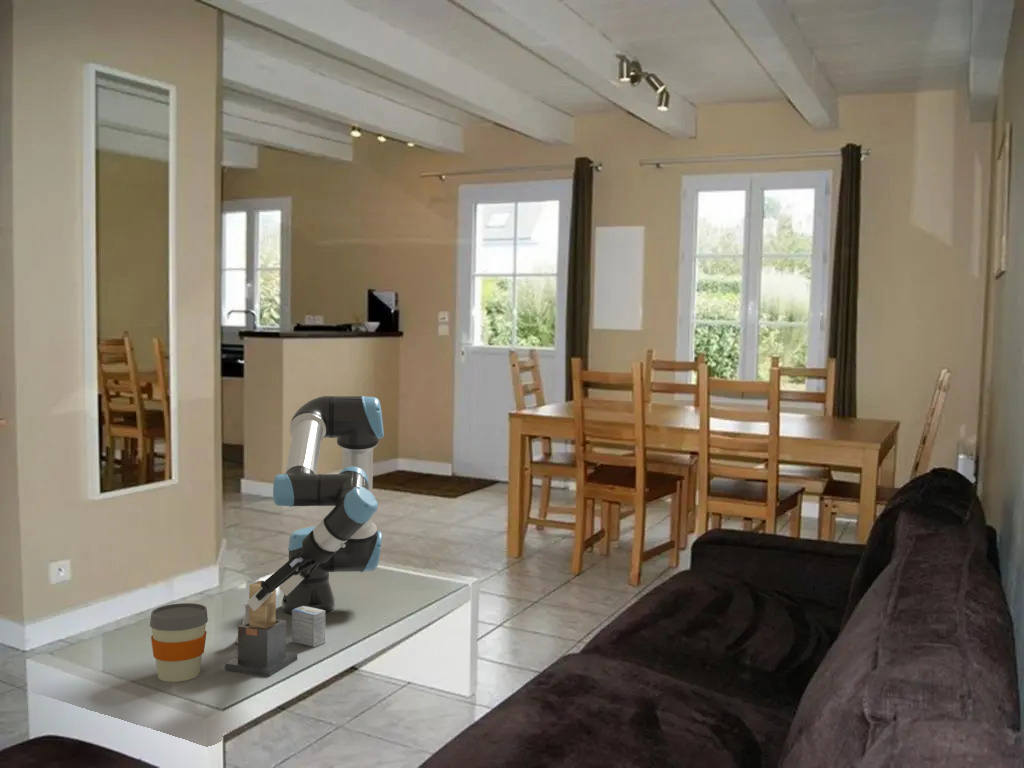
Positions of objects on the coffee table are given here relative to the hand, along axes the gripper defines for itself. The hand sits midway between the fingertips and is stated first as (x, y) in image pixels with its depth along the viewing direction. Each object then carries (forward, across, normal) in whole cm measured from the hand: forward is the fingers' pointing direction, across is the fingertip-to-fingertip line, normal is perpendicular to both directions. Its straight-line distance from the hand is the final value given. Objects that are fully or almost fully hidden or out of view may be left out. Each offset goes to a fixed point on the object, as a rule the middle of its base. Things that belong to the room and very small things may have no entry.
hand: (267, 598), depth 210 cm
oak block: (+12, +1, -9) cm, 15 cm away
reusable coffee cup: (+23, -11, 0) cm, 26 cm away
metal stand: (+13, +1, -10) cm, 17 cm away
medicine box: (+12, +19, -12) cm, 25 cm away
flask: (+22, +14, -2) cm, 26 cm away
